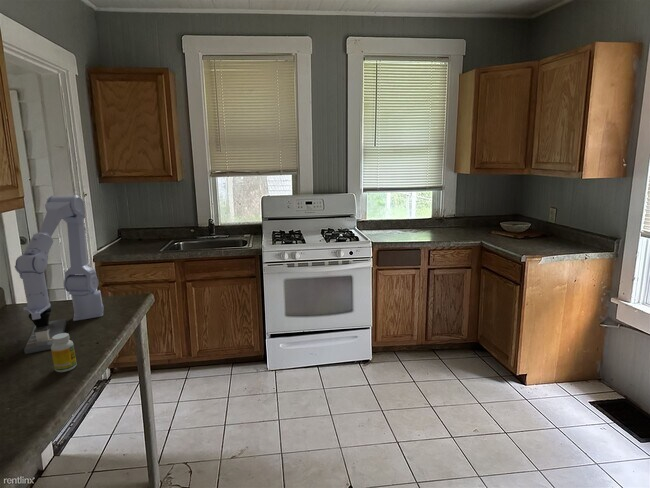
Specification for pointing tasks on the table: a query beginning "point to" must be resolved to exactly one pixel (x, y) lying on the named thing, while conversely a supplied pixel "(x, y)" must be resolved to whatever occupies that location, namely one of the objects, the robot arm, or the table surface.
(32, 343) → the console
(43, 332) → the fader tab
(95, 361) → the table surface
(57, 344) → the supplement bottle
